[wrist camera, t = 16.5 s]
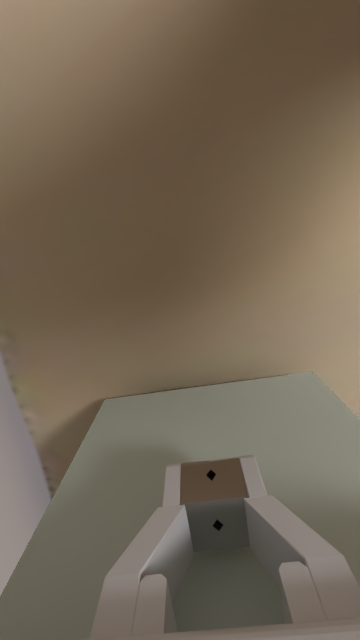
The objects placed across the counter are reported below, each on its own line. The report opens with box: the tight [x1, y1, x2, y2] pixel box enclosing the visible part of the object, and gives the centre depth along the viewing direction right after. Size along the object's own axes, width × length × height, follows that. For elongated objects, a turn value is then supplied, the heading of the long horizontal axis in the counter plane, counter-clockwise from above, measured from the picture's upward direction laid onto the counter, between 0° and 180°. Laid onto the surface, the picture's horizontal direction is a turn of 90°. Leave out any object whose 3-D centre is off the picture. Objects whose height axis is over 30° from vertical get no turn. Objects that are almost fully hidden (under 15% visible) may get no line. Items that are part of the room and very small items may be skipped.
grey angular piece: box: [0, 372, 360, 640], centre depth 14 cm, size 15×14×13 cm
